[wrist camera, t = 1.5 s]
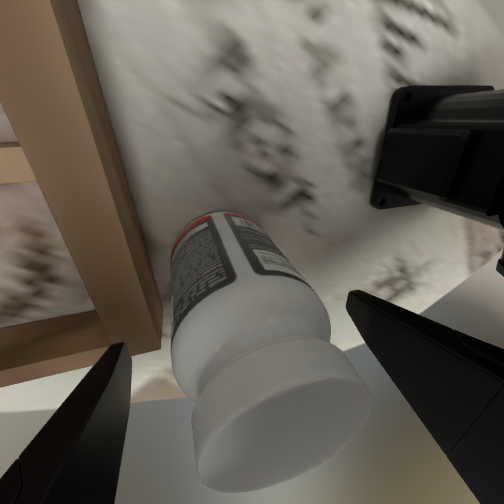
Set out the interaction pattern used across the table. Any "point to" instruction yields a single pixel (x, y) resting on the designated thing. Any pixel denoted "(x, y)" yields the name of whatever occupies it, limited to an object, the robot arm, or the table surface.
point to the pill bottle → (256, 359)
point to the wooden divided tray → (72, 192)
